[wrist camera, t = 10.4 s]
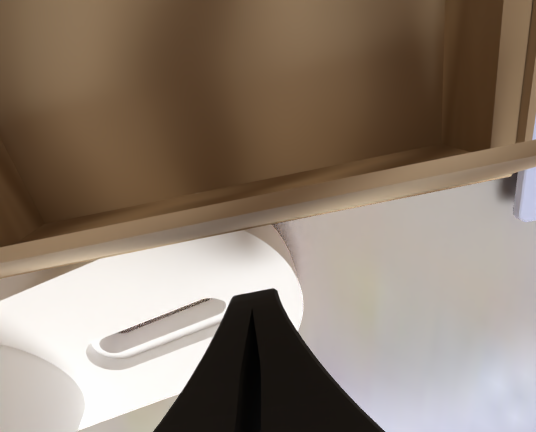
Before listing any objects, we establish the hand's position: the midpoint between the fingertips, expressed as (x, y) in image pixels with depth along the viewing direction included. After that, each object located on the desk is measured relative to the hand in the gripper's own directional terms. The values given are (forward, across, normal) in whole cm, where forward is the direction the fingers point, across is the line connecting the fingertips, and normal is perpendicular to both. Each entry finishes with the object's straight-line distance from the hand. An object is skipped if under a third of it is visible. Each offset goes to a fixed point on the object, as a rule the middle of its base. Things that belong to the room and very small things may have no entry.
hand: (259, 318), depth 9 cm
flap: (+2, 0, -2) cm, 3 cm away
